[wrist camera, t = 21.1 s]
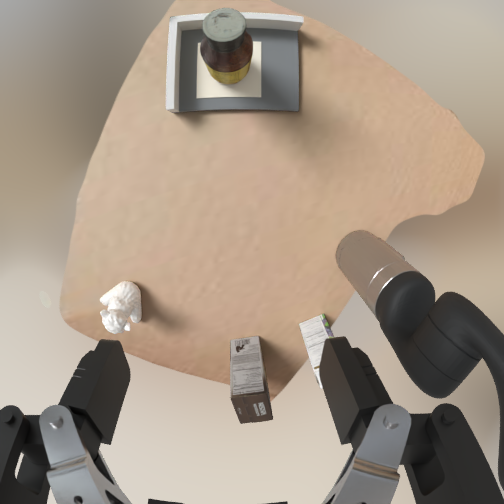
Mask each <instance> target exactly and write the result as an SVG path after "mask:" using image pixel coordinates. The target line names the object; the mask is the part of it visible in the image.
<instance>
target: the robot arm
mask: <svg viewBox="0 0 504 504" xmlns="http://www.w3.org/2000/svg"><path fill="white" fill-rule="evenodd" d="M336 261H337V264H338V267H339V268H340V269H341V271H342V272H343V273H344V275H345V276H346V277H347V279H348V280H349V281H350V283H351V284H352V285H353V287H354V288H355V289H356V291H357V292H358V293H359V295H360V296H361V298H362V299H363V300H364V301H365V303H366V304H367V305H368V307H369V308H370V310H371V311H372V312H373V314H374V315H375V317H376V318H377V319H378V321H379V322H380V327H381V329H382V330H383V333H384V334H385V336H386V337H387V339H388V341H389V342H390V344H391V346H392V348H393V349H394V351H395V353H396V355H397V357H398V358H399V360H400V362H401V364H402V366H403V367H404V369H405V370H406V372H407V374H408V375H409V377H410V378H411V379H412V381H413V382H414V383H415V384H416V385H417V386H418V387H419V388H420V389H421V390H422V391H423V392H424V393H426V394H428V395H429V396H431V397H434V398H445V397H447V396H448V395H450V394H451V393H452V392H453V391H454V390H455V389H456V388H457V387H458V386H459V385H460V384H461V383H462V381H463V380H464V379H465V378H466V377H467V376H468V374H469V373H470V372H471V371H472V370H473V369H474V367H475V366H476V365H477V364H478V362H479V361H480V360H481V359H482V358H483V359H484V360H485V362H486V364H487V366H488V368H489V369H490V372H491V374H492V376H493V379H494V382H495V385H496V388H497V393H498V398H499V405H500V440H499V458H498V476H499V481H500V484H501V486H502V488H503V490H504V335H503V333H501V331H500V330H499V329H498V328H497V327H496V326H495V325H494V324H493V323H492V321H491V320H490V319H489V318H488V317H487V316H485V314H484V313H483V312H482V311H481V310H480V309H479V308H478V307H476V306H475V305H474V304H473V303H472V302H471V301H469V300H468V299H466V298H465V297H463V296H462V295H460V294H458V293H455V292H446V293H444V294H442V295H441V296H440V297H439V299H438V300H437V301H436V302H435V290H434V287H433V285H432V284H431V282H430V281H429V280H428V279H427V278H426V277H425V276H423V275H422V274H421V273H420V272H419V271H417V270H416V269H415V268H414V267H413V266H411V265H410V264H409V263H408V262H406V261H405V258H404V256H402V255H401V254H400V253H399V252H397V251H396V250H395V249H394V248H392V247H391V246H390V245H388V244H387V243H386V242H384V241H383V240H382V239H381V238H377V237H375V236H374V235H373V234H371V233H369V232H367V231H360V230H359V231H354V232H352V233H350V234H349V235H347V236H346V237H345V238H344V239H343V240H342V241H341V243H340V244H339V246H338V248H337V252H336ZM376 373H377V372H376V370H375V369H374V367H373V366H372V363H371V361H370V359H369V358H368V356H367V355H366V354H365V353H364V352H363V351H361V350H360V349H359V348H351V346H350V344H349V342H348V340H347V338H346V337H336V338H327V339H326V340H325V342H324V347H323V352H322V356H321V361H320V366H319V376H320V381H321V384H322V387H323V389H324V392H325V396H326V399H327V402H328V405H329V408H330V411H331V414H332V417H333V420H334V423H335V426H336V429H337V432H338V435H339V438H340V442H341V444H348V443H351V444H352V447H353V450H352V452H351V454H350V456H349V458H348V460H347V462H346V464H345V466H344V468H343V470H342V472H341V474H340V475H339V477H338V479H337V481H336V483H335V485H334V486H333V488H332V490H331V491H330V493H329V494H328V496H327V497H326V499H325V500H324V502H323V503H322V504H390V503H391V501H392V498H393V496H394V493H395V491H396V487H397V485H398V482H399V478H400V475H399V474H398V473H397V469H398V467H399V465H404V467H405V470H406V473H407V476H408V479H409V482H410V485H411V488H412V491H413V494H414V497H415V501H416V504H504V499H503V497H502V494H501V492H500V489H499V487H498V484H497V482H496V479H495V477H494V475H493V473H492V470H491V468H490V466H489V464H488V462H487V460H486V458H485V456H484V453H483V451H482V449H481V447H480V445H479V443H478V442H477V439H476V438H475V436H474V434H473V432H472V430H471V428H470V426H469V425H468V423H467V421H466V419H465V417H464V415H463V414H462V412H461V411H460V409H459V408H458V407H456V406H454V405H452V404H447V403H446V404H440V405H438V406H437V407H436V408H435V409H434V410H433V412H432V413H428V414H410V413H408V411H407V410H406V409H404V408H403V407H401V406H399V405H395V404H393V402H392V401H391V399H390V397H389V395H388V393H387V391H386V390H385V387H384V385H383V383H382V381H381V380H380V378H379V376H378V374H376ZM129 382H130V368H129V365H128V362H127V360H126V357H125V354H124V351H123V348H122V345H121V343H120V342H119V341H117V340H105V339H101V340H100V341H99V343H98V345H97V347H96V349H95V350H94V351H89V352H88V353H87V354H86V355H85V356H84V357H83V358H82V359H81V361H80V363H79V364H78V366H77V369H76V370H75V372H74V374H73V377H72V378H71V380H70V382H69V384H68V386H67V388H66V390H65V392H64V394H63V396H62V398H61V400H60V402H59V404H58V405H53V406H50V407H48V408H46V409H45V410H44V411H43V412H42V414H41V415H24V414H23V413H22V412H21V410H20V409H19V408H18V407H16V406H13V405H9V406H6V407H4V408H3V409H1V410H0V504H47V499H48V495H49V490H50V486H51V489H52V492H53V494H54V497H55V500H56V502H57V504H132V503H131V502H130V501H129V499H128V498H127V497H126V496H125V494H124V493H123V492H122V491H121V489H120V488H119V486H118V485H117V483H116V481H115V479H114V477H113V475H112V474H111V472H110V470H109V468H108V466H107V464H106V462H105V460H104V458H103V456H102V454H101V452H100V450H99V446H100V443H104V444H109V445H111V441H112V438H113V434H114V431H115V427H116V424H117V421H118V417H119V414H120V411H121V407H122V404H123V401H124V398H125V395H126V391H127V388H128V385H129ZM21 452H22V453H23V454H24V456H23V459H22V462H21V465H20V469H19V472H18V475H17V479H16V478H15V469H16V466H17V463H18V459H19V456H20V453H21ZM148 504H183V503H177V502H168V501H160V500H154V499H148ZM268 504H287V502H278V503H268Z"/></svg>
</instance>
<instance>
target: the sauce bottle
mask: <svg viewBox="0 0 504 504" xmlns="http://www.w3.org/2000/svg"><path fill="white" fill-rule="evenodd" d="M246 26H247V24H246V20H245V17H244V16H243V15H242V14H241V13H240V12H239V11H237V10H234V9H230V8H222V9H217V10H214V11H212V12H211V13H209V14H208V15H207V16H206V17H205V19H204V20H203V24H202V30H203V34H204V37H203V39H202V41H201V44H200V53H201V56H202V58H203V60H204V63H205V64H206V67H207V69H208V71H209V73H210V75H211V76H212V77H213V78H214V79H215V80H216V81H218V82H220V83H223V84H235V83H238V82H239V81H241V80H242V79H243V78H244V77H245V76H246V75H247V73H248V72H249V69H250V64H251V59H252V55H253V41H252V38H251V35H250V34H248V33H247V31H246Z"/></svg>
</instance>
